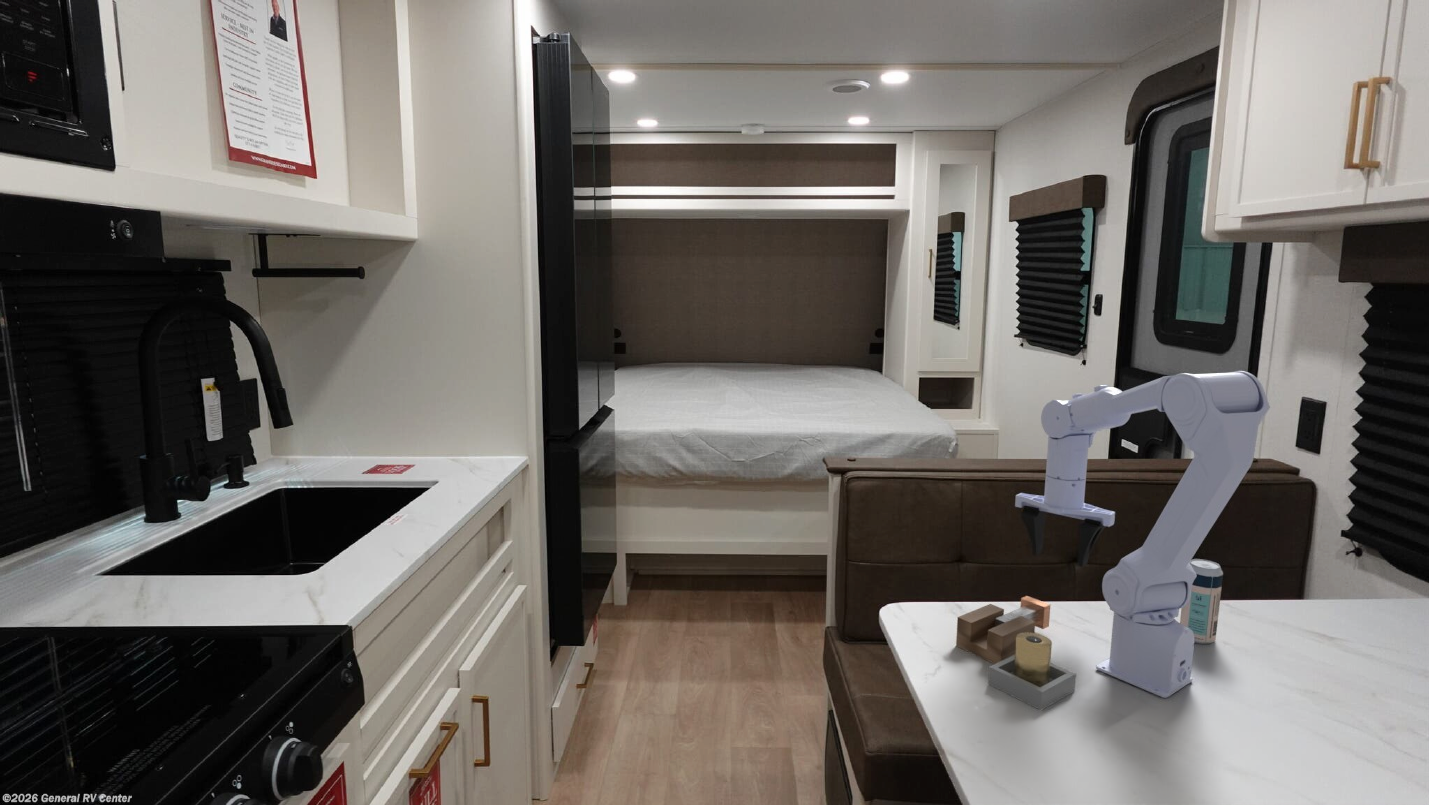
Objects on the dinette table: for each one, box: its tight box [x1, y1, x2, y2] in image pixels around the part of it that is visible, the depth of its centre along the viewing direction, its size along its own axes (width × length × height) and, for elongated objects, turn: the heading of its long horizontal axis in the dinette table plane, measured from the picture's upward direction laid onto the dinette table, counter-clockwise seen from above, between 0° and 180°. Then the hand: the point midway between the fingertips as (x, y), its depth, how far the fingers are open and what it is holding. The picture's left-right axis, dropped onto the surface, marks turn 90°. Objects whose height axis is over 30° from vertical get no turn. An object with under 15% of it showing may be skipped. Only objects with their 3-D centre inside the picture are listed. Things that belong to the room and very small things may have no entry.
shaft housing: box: [955, 603, 1036, 665], centre depth 113 cm, size 8×8×5 cm
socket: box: [987, 655, 1077, 711], centre depth 103 cm, size 8×8×2 cm
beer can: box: [1179, 558, 1224, 645], centre depth 116 cm, size 5×5×12 cm
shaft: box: [995, 595, 1051, 630], centre depth 116 cm, size 4×10×4 cm, turn 125°
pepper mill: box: [1014, 632, 1053, 687], centre depth 102 cm, size 4×4×6 cm
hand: (1059, 559), depth 121 cm, fingers open, 6 cm apart
